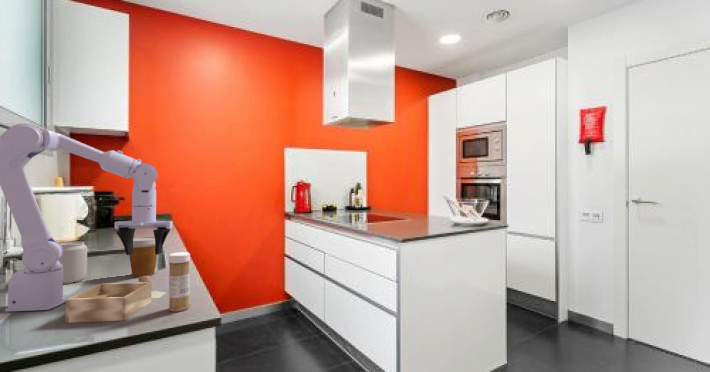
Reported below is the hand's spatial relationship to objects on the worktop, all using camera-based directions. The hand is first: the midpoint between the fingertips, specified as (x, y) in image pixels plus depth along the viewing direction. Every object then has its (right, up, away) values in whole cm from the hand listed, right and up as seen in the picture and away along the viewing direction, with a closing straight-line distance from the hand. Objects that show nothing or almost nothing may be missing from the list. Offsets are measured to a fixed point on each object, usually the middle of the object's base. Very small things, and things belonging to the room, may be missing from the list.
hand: (143, 254), depth 95 cm
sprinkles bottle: (+17, -11, -14) cm, 24 cm away
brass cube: (0, -11, -18) cm, 21 cm away
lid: (0, -11, 0) cm, 11 cm away
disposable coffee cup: (-11, -11, +17) cm, 23 cm away
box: (+2, -10, -16) cm, 19 cm away
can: (-28, -10, +9) cm, 31 cm away
